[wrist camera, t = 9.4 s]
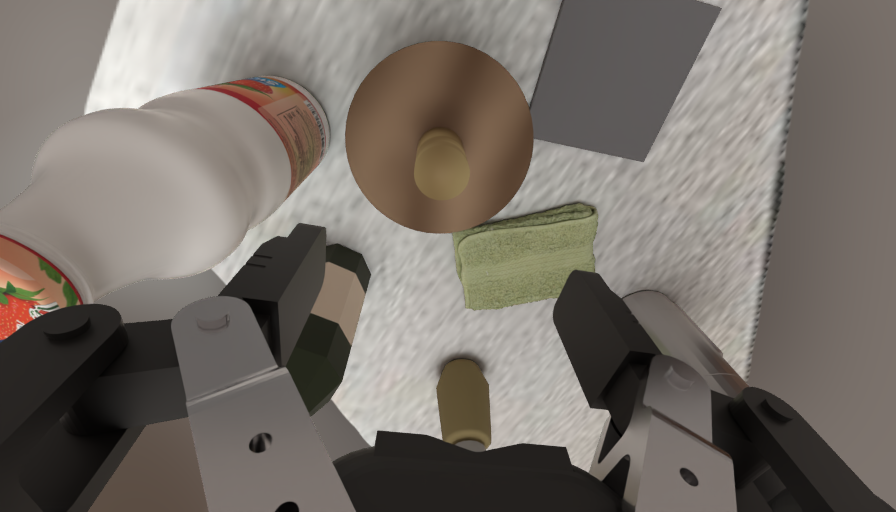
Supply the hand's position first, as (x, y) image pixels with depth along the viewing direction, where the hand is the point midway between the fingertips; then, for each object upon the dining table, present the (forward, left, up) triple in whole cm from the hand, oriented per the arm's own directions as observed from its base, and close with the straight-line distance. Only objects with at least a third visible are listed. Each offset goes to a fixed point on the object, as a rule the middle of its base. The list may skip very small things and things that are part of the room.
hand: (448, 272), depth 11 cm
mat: (-16, -7, -28) cm, 33 cm away
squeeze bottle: (-11, +37, -28) cm, 48 cm away
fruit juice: (+15, +4, -28) cm, 32 cm away
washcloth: (-14, +15, -29) cm, 35 cm away
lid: (0, 0, -16) cm, 16 cm away
